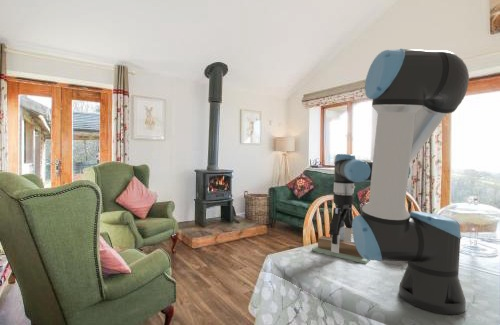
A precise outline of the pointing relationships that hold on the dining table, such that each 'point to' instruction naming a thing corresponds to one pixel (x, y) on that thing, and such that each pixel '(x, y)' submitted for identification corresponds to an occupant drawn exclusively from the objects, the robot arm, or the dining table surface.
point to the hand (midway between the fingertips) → (341, 247)
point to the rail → (344, 246)
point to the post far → (342, 231)
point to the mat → (340, 255)
